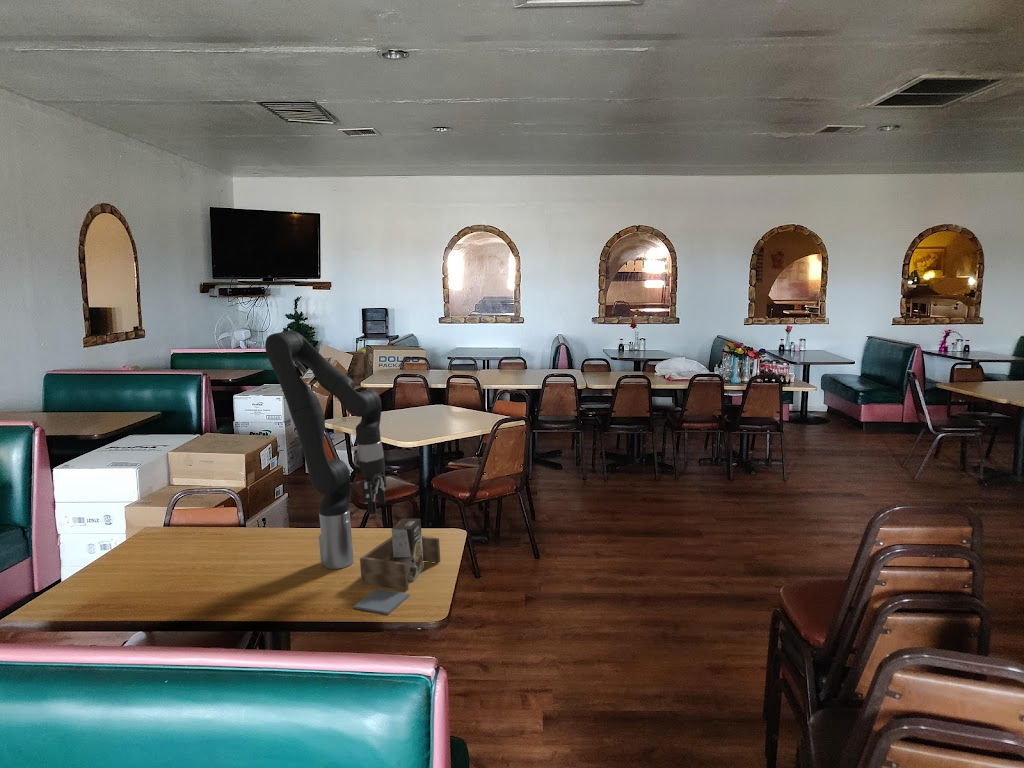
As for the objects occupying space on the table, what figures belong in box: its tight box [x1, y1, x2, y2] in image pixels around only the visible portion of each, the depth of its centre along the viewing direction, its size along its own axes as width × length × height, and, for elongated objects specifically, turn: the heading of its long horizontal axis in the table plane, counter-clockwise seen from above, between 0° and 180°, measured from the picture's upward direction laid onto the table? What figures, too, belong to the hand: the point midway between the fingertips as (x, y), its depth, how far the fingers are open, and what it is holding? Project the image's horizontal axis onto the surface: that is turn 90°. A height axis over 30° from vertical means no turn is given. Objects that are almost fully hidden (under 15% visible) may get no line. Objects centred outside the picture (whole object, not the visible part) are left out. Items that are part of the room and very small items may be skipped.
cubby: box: [359, 535, 441, 592], centre depth 209 cm, size 15×20×8 cm
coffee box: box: [391, 518, 425, 582], centre depth 208 cm, size 9×6×16 cm
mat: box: [353, 588, 411, 615], centre depth 192 cm, size 11×11×1 cm
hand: (377, 508), depth 209 cm, fingers open, 8 cm apart
